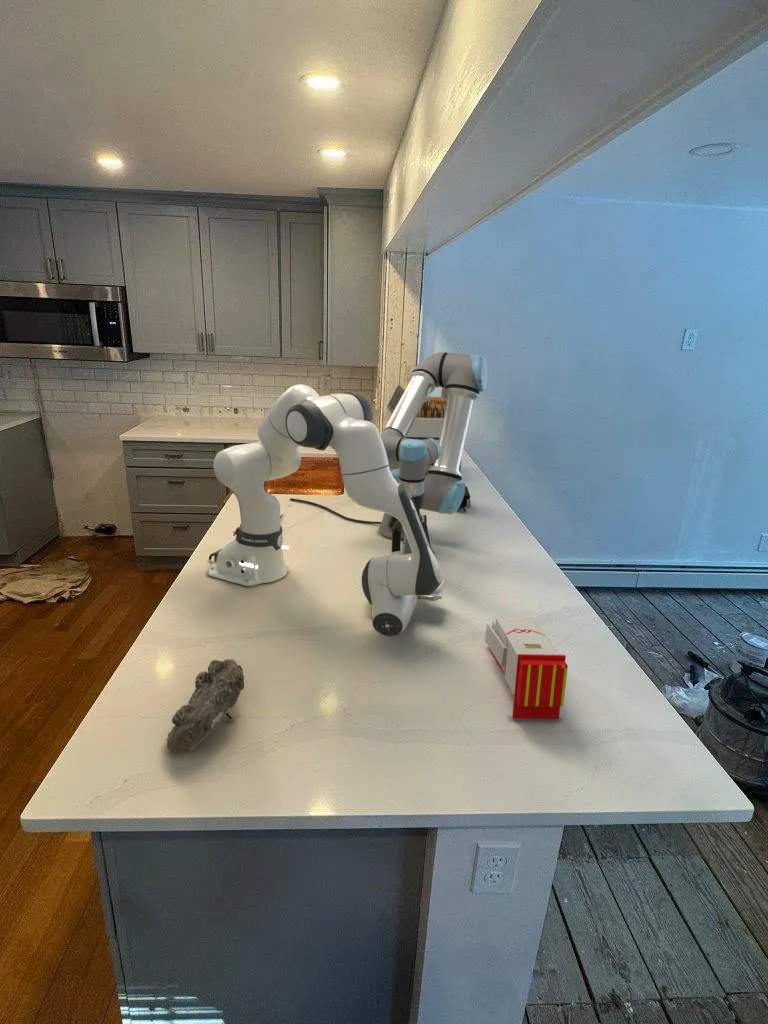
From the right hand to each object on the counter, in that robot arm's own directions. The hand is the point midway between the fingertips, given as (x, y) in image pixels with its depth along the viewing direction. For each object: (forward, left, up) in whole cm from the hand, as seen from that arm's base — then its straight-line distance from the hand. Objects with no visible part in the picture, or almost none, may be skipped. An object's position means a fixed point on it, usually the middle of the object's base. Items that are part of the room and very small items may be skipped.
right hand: (407, 559), depth 173 cm
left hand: (+12, -11, +4) cm, 17 cm away
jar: (+13, -11, -3) cm, 17 cm away
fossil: (+27, -76, -3) cm, 80 cm away
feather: (-59, -9, -3) cm, 59 cm away
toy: (+55, -18, -3) cm, 58 cm away
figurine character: (-29, +56, -3) cm, 63 cm away
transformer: (-75, +77, -3) cm, 108 cm away
